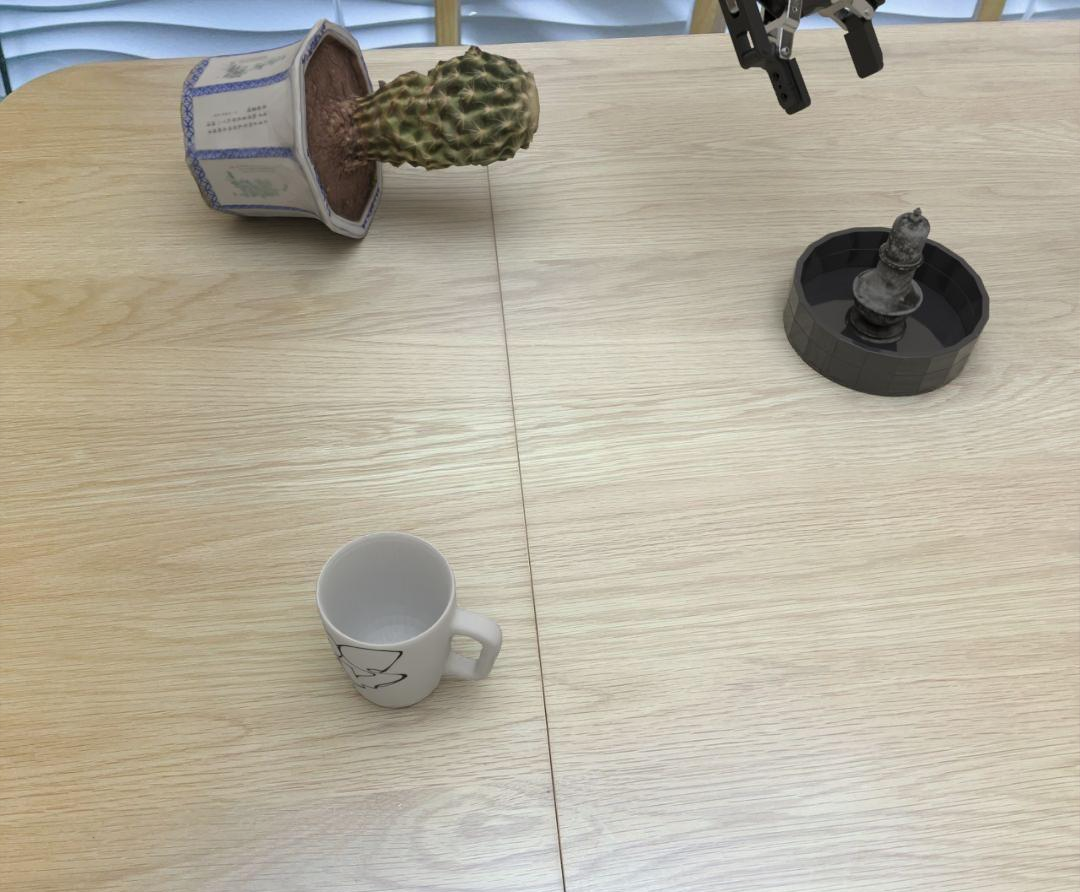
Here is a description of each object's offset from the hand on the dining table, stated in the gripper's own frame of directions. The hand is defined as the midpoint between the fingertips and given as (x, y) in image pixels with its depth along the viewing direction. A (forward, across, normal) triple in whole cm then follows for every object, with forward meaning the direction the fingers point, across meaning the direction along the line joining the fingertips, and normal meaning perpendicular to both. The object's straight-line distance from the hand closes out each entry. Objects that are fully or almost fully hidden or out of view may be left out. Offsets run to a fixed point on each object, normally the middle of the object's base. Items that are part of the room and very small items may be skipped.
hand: (837, 92), depth 86 cm
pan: (+20, 0, +5) cm, 20 cm away
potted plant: (-8, -26, +33) cm, 42 cm away
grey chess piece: (+19, 0, +5) cm, 20 cm away
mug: (+22, -51, +3) cm, 56 cm away
